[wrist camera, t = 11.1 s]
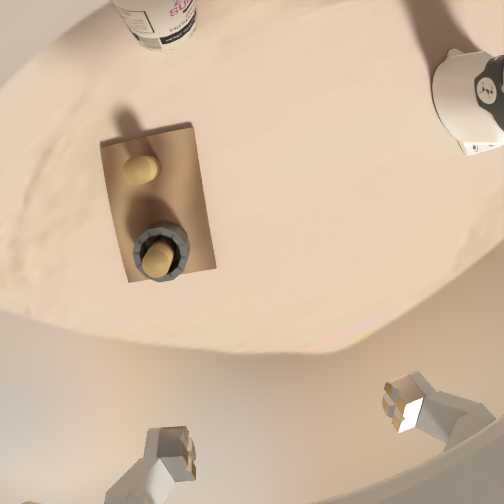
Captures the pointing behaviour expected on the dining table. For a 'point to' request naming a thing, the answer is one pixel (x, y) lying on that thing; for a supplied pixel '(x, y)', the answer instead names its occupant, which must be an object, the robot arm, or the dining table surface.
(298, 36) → the dining table surface
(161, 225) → the ring
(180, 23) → the supplement can
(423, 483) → the robot arm
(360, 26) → the dining table surface
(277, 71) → the dining table surface
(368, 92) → the dining table surface
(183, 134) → the post board
